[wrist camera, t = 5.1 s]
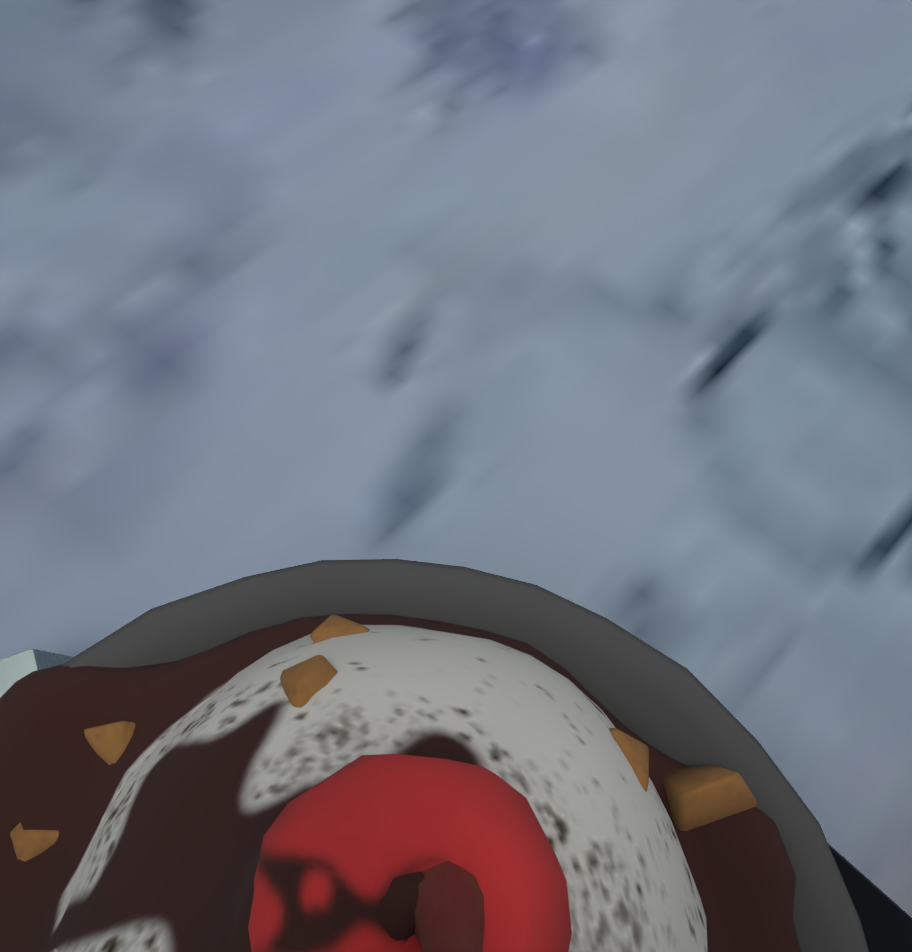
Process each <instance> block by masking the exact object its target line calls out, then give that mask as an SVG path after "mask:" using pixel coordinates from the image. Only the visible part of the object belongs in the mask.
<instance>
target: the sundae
mask: <svg viewBox="0 0 912 952" xmlns="http://www.w3.org/2000/svg"><path fill="white" fill-rule="evenodd" d="M0 952H869V949H868V946H867V942H866V939H865V936H864V932H863V929H862V925H861V922H860V918H859V916H858V914H857V911H856V909H855V907H854V904H853V902H852V900H851V897H850V895H849V892H848V890H847V888H846V885H845V883H844V881H843V878H842V876H841V874H840V871H839V869H838V866H837V864H836V862H835V859H834V857H833V855H832V852H831V850H830V848H829V845H828V843H827V841H826V838H825V836H824V833H823V831H822V829H821V826H820V824H819V822H818V821H817V820H816V818H815V817H814V816H813V814H812V813H811V812H810V810H809V809H808V808H807V806H806V805H805V804H804V802H803V801H802V799H801V798H800V797H799V795H798V794H797V793H796V791H795V790H794V789H793V787H792V786H791V785H790V783H789V782H788V781H787V779H786V778H785V777H784V775H783V774H782V773H781V771H780V770H779V769H778V767H777V766H776V765H775V763H774V762H773V761H772V759H771V758H770V757H769V755H768V754H767V753H766V751H765V750H764V748H763V747H762V746H761V744H760V743H759V742H758V741H757V740H756V738H755V737H754V736H753V735H752V734H751V733H750V732H749V731H748V730H747V729H746V728H745V727H744V726H743V725H742V724H741V723H740V722H739V721H738V720H737V719H736V718H735V717H734V716H733V715H732V714H731V713H730V712H729V711H728V710H727V709H726V708H725V707H724V706H723V705H722V704H721V703H720V702H719V701H718V700H717V699H716V698H715V697H714V696H713V695H712V694H711V693H710V692H709V691H708V690H707V688H706V687H705V686H704V685H703V684H702V683H701V682H700V681H699V680H698V679H697V678H696V677H695V676H694V675H693V674H692V673H691V672H690V671H689V670H688V669H686V668H685V667H683V666H682V665H680V664H678V663H677V662H675V661H674V660H672V659H670V658H669V657H667V656H666V655H664V654H662V653H661V652H659V651H658V650H656V649H655V648H653V647H651V646H650V645H648V644H647V643H645V642H643V641H642V640H640V639H639V638H637V637H635V636H634V635H632V634H631V633H629V632H627V631H626V630H624V629H623V628H621V627H619V626H618V625H616V624H615V623H613V622H611V621H610V620H608V619H607V618H605V617H602V616H600V615H598V614H596V613H594V612H592V611H590V610H588V609H586V608H583V607H581V606H579V605H577V604H575V603H573V602H571V601H569V600H567V599H564V598H562V597H560V596H558V595H556V594H554V593H552V592H550V591H548V590H546V589H543V588H541V587H539V586H537V585H534V584H530V583H526V582H522V581H518V580H514V579H510V578H506V577H502V576H498V575H494V574H490V573H486V572H482V571H478V570H474V569H470V568H466V567H460V566H451V565H443V564H434V563H425V562H417V561H408V560H399V559H379V560H322V561H317V562H313V563H308V564H303V565H299V566H294V567H289V568H285V569H280V570H276V571H271V572H266V573H262V574H257V575H252V576H248V577H244V578H241V579H238V580H235V581H232V582H229V583H226V584H223V585H220V586H217V587H214V588H212V589H209V590H206V591H203V592H200V593H197V594H194V595H191V596H188V597H185V598H182V599H179V600H176V601H173V602H170V603H167V604H165V605H162V606H159V607H156V608H153V609H150V610H149V611H147V612H146V613H144V614H142V615H141V616H139V617H138V618H136V619H134V620H133V621H131V622H130V623H128V624H126V625H125V626H123V627H122V628H120V629H119V630H117V631H115V632H114V633H112V634H111V635H109V636H107V637H106V638H104V639H103V640H101V641H99V642H98V643H96V644H95V645H93V646H91V647H90V648H88V649H87V650H85V651H83V652H82V653H80V654H79V655H77V656H75V657H74V658H72V659H71V660H69V661H67V662H66V663H64V664H61V665H57V666H53V667H50V668H46V669H41V670H37V671H33V672H31V673H29V674H28V675H26V676H24V677H23V678H21V679H19V680H18V681H16V682H15V683H14V684H13V685H12V686H11V687H10V688H9V689H8V690H7V691H6V692H5V693H4V694H3V695H2V697H1V698H0Z"/></svg>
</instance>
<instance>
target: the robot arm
mask: <svg viewBox="0 0 912 952" xmlns="http://www.w3.org/2000/svg"><path fill="white" fill-rule="evenodd" d="M828 845H829V844H828ZM829 848H830V850H831V852H832V855H833V857H834V859H835V862H836V864H837V866H838V869H839V871H840V874H841V876H842V878H843V881H844V883H845V885H846V888H847V890H848V892H849V895H850V897H851V900H852V902H853V904H854V907H855V909H856V911H857V914H858V916H859V918H860V922H861V925H862V929H863V932H864V936H865V939H866V942H867V946H868V949H869V952H912V918H911V917H910V916H909V915H908V914H907V913H906V912H905V911H903V910H902V909H901V908H900V907H899V906H898V905H897V904H896V903H894V902H893V901H892V900H891V899H890V898H889V897H888V896H887V895H885V894H884V893H883V892H882V891H881V890H880V889H879V888H878V887H876V886H875V885H874V884H873V883H872V882H871V881H870V880H869V879H867V878H866V877H865V876H864V875H863V874H862V873H861V872H860V871H858V870H857V869H856V868H855V867H854V866H853V865H852V864H851V863H849V862H848V861H847V860H846V859H845V858H844V857H843V856H842V855H840V854H839V853H838V852H837V851H836V850H835V849H834V848H833V847H831V846H830V845H829Z"/></svg>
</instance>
